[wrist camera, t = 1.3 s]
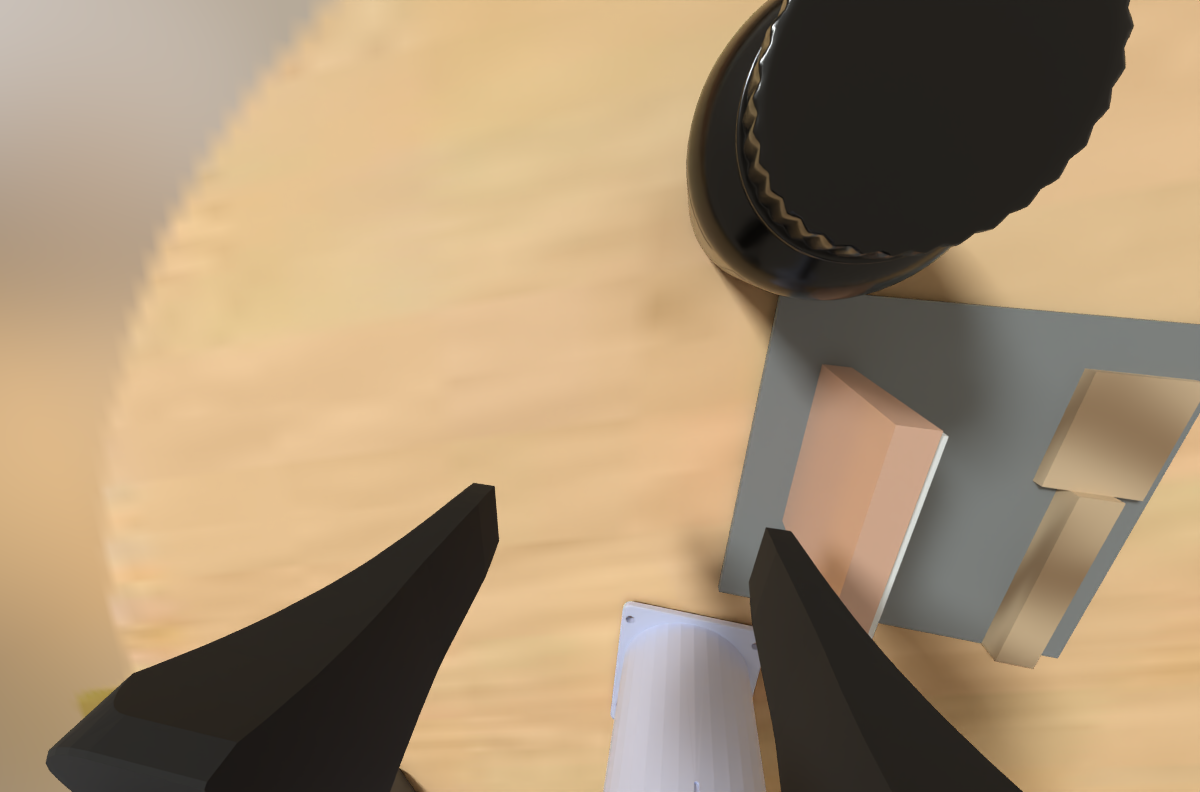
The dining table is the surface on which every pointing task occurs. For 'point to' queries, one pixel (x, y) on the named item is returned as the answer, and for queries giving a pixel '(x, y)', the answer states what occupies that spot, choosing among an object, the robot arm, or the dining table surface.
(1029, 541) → the mat
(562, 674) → the dining table surface
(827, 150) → the supplement bottle
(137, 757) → the robot arm
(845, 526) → the tile
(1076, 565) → the turner
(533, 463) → the dining table surface
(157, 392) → the dining table surface
